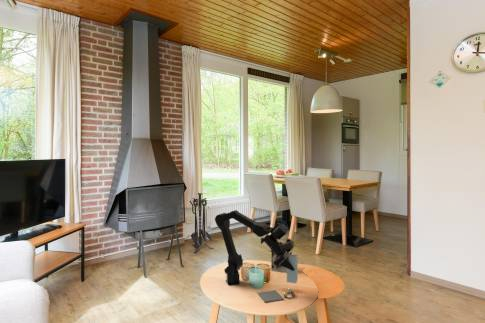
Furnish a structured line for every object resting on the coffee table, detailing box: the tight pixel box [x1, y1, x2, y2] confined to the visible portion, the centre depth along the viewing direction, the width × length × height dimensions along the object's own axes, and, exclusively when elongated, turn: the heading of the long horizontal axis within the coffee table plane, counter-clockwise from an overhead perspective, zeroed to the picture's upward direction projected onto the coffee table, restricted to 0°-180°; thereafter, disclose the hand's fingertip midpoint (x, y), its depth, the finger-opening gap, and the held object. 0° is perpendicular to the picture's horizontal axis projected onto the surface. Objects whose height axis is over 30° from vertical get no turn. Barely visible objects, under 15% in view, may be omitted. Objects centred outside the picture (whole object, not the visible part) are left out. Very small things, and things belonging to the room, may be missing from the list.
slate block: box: [286, 253, 299, 284], centre depth 155 cm, size 5×5×13 cm
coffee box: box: [270, 252, 287, 273], centre depth 189 cm, size 9×6×16 cm
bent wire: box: [283, 287, 295, 299], centre depth 154 cm, size 6×5×3 cm
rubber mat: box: [257, 289, 285, 303], centre depth 153 cm, size 10×10×1 cm
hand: (294, 268), depth 154 cm, fingers closed on slate block, 5 cm apart
